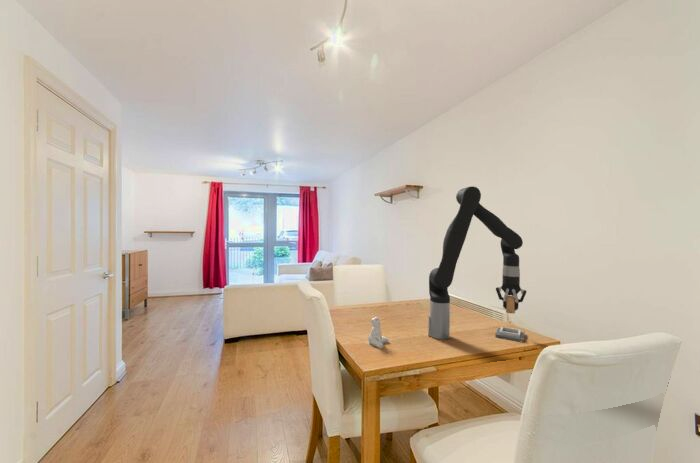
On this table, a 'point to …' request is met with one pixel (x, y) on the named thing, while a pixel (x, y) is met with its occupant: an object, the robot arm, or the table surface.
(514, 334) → the housing
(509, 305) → the brown peg
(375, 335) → the white creature statuette
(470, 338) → the table surface
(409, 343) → the table surface
